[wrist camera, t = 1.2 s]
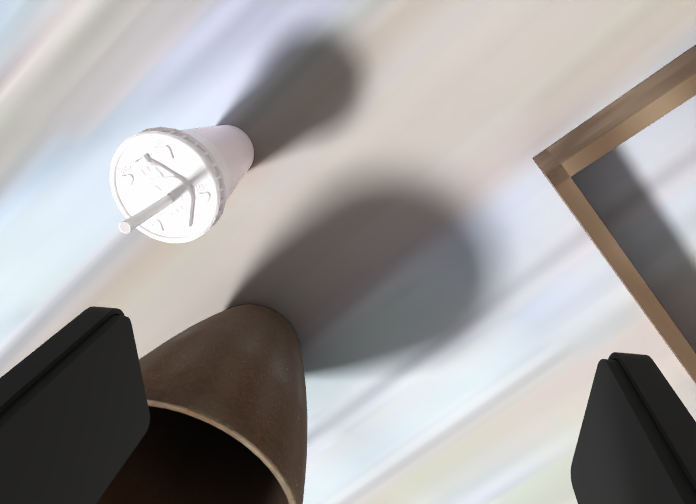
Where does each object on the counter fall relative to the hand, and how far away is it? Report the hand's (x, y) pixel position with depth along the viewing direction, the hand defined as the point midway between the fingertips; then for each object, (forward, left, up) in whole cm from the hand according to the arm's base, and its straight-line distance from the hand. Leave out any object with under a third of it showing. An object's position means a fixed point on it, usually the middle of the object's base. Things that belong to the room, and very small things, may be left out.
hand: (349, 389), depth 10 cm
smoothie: (+10, -7, -26) cm, 29 cm away
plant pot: (+20, +6, -26) cm, 33 cm away
